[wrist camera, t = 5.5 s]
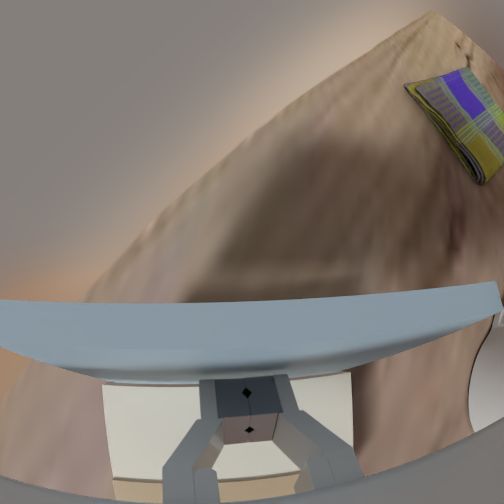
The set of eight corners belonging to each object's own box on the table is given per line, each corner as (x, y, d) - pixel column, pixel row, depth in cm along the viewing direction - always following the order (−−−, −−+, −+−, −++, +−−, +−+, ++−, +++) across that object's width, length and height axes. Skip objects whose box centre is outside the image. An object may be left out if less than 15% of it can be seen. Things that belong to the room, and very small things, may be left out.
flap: (335, 358, 17) (495, 281, 7) (337, 371, 17) (503, 309, 6) (117, 368, 15) (-22, 298, 5) (117, 382, 15) (-27, 335, 4)
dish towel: (520, 145, 41) (529, 138, 38) (474, 193, 34) (487, 184, 32) (462, 71, 44) (470, 63, 41) (394, 90, 37) (403, 77, 35)
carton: (309, 366, 25) (352, 372, 17) (314, 511, 21) (350, 555, 13) (131, 374, 23) (100, 385, 15) (151, 523, 19) (137, 575, 11)
